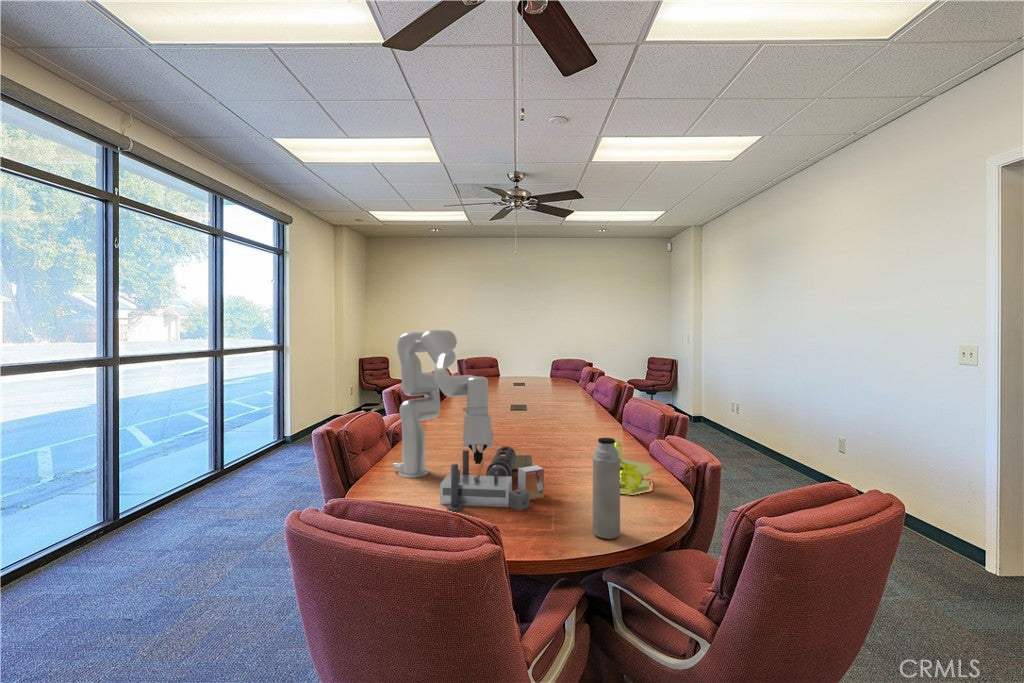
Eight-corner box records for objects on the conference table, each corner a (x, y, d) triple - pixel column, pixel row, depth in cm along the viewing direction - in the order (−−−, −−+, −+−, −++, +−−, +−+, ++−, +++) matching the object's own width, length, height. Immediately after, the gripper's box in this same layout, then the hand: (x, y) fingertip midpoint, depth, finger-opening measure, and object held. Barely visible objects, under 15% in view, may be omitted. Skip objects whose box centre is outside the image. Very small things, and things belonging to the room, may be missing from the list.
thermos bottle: (594, 525, 136) (595, 434, 135) (621, 528, 133) (621, 436, 133) (590, 536, 128) (590, 440, 128) (618, 540, 125) (619, 442, 125)
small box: (525, 501, 155) (525, 471, 155) (517, 496, 160) (517, 467, 160) (544, 497, 159) (544, 468, 159) (536, 492, 164) (536, 464, 164)
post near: (445, 511, 146) (445, 466, 146) (449, 505, 151) (449, 462, 151) (460, 512, 145) (460, 467, 145) (463, 506, 150) (463, 462, 150)
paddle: (473, 480, 155) (481, 459, 154) (475, 476, 159) (483, 456, 158) (477, 482, 154) (485, 460, 154) (479, 478, 158) (487, 457, 158)
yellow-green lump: (601, 492, 164) (602, 451, 164) (607, 473, 188) (608, 436, 188) (653, 498, 159) (654, 455, 159) (653, 477, 183) (653, 439, 182)
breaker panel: (439, 504, 152) (439, 475, 152) (447, 493, 163) (447, 466, 163) (508, 507, 150) (508, 478, 149) (511, 495, 161) (512, 468, 161)
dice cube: (508, 507, 150) (508, 492, 150) (518, 503, 154) (518, 488, 154) (519, 511, 147) (519, 496, 147) (529, 506, 150) (529, 492, 150)
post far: (457, 492, 164) (457, 452, 164) (460, 487, 169) (460, 449, 169) (470, 493, 163) (470, 453, 163) (473, 488, 168) (473, 449, 168)
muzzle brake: (516, 469, 194) (516, 445, 193) (510, 491, 166) (510, 464, 166) (495, 468, 194) (495, 445, 194) (485, 490, 167) (485, 463, 166)
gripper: (454, 413, 153) (455, 465, 153) (497, 413, 151) (497, 466, 151) (459, 409, 160) (460, 459, 160) (500, 410, 159) (500, 460, 159)
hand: (478, 462), depth 156 cm, fingers closed
